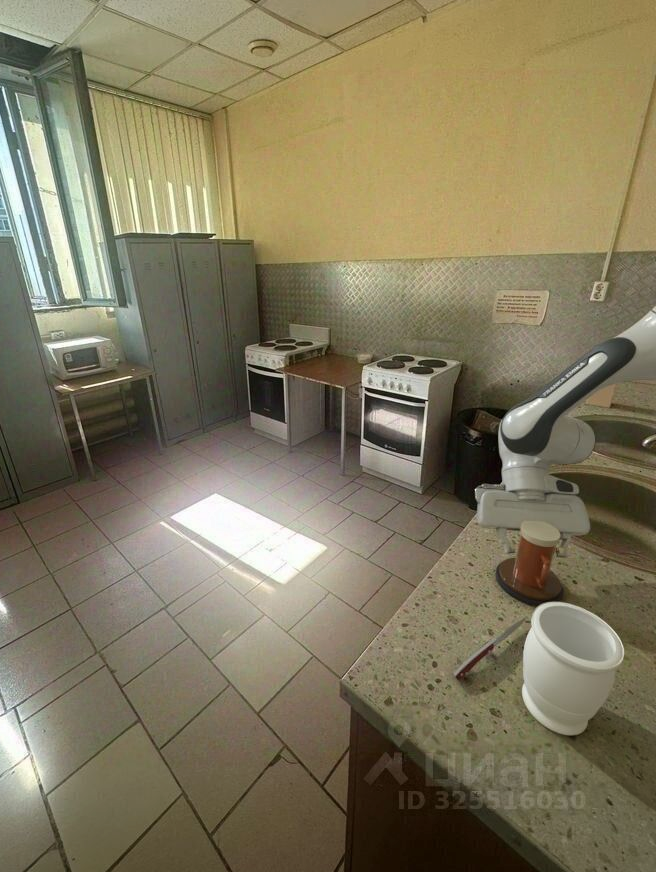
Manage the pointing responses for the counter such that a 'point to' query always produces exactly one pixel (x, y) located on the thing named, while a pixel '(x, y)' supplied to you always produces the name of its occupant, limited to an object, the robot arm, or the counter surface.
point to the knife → (484, 651)
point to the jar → (568, 666)
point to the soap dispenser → (603, 397)
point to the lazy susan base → (522, 598)
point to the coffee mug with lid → (533, 562)
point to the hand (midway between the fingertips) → (535, 555)
